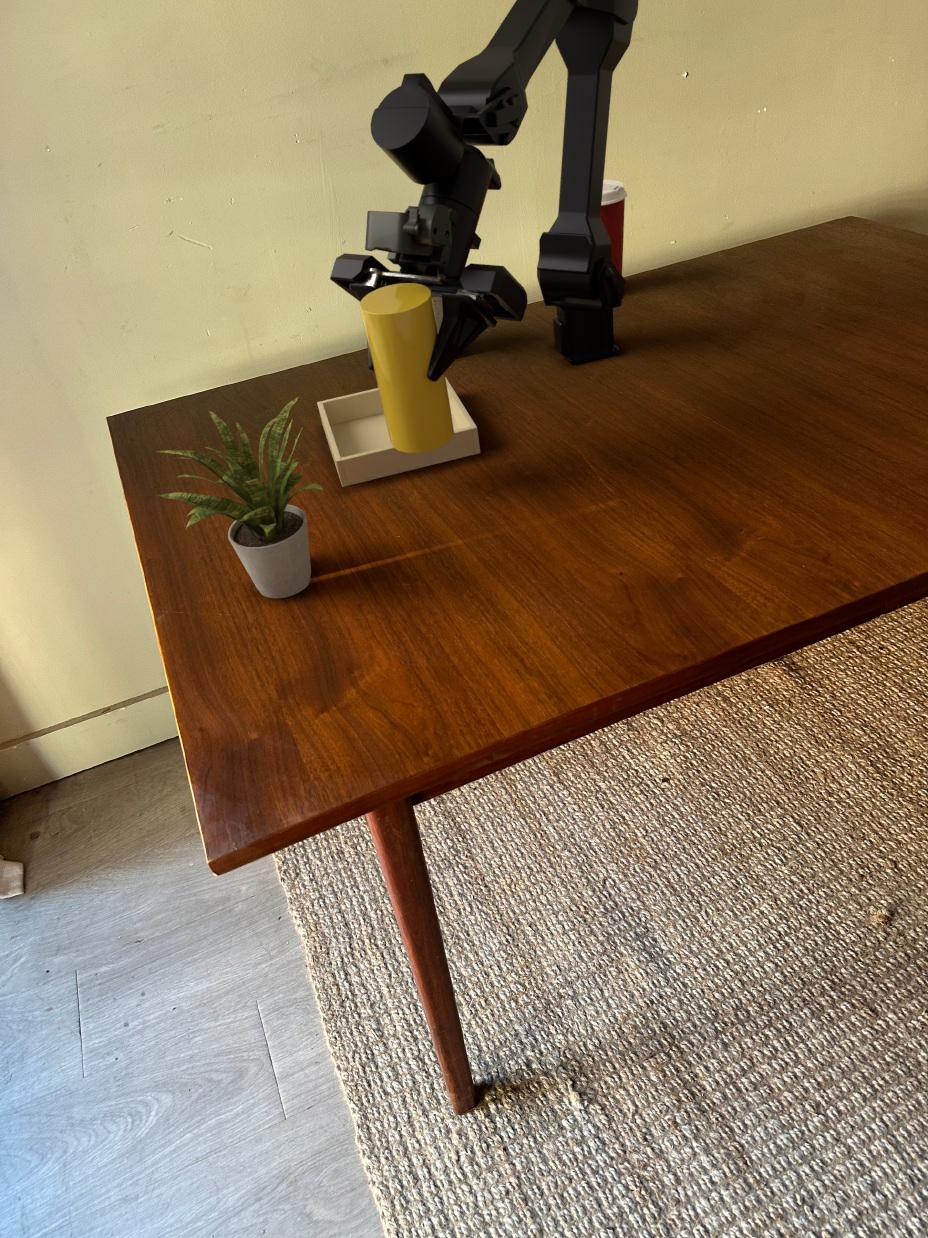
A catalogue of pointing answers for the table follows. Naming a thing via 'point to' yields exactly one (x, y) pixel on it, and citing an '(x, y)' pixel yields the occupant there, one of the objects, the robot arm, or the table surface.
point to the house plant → (258, 508)
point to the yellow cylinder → (407, 366)
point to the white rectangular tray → (385, 438)
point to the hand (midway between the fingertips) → (401, 375)
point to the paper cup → (614, 217)
